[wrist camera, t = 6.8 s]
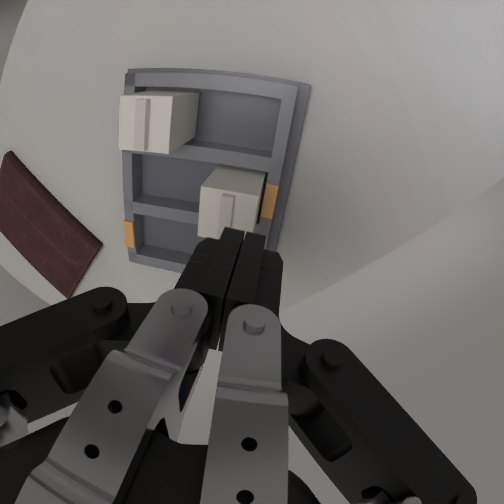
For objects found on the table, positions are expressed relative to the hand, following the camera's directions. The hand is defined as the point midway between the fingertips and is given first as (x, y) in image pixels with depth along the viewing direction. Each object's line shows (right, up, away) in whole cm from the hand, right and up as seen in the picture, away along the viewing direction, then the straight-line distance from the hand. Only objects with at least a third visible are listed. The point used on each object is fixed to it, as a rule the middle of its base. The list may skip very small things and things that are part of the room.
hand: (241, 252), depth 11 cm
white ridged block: (-6, +12, +12) cm, 18 cm away
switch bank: (-4, +7, +16) cm, 18 cm away
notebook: (-30, +4, +23) cm, 38 cm away
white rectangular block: (-1, +6, +15) cm, 16 cm away
